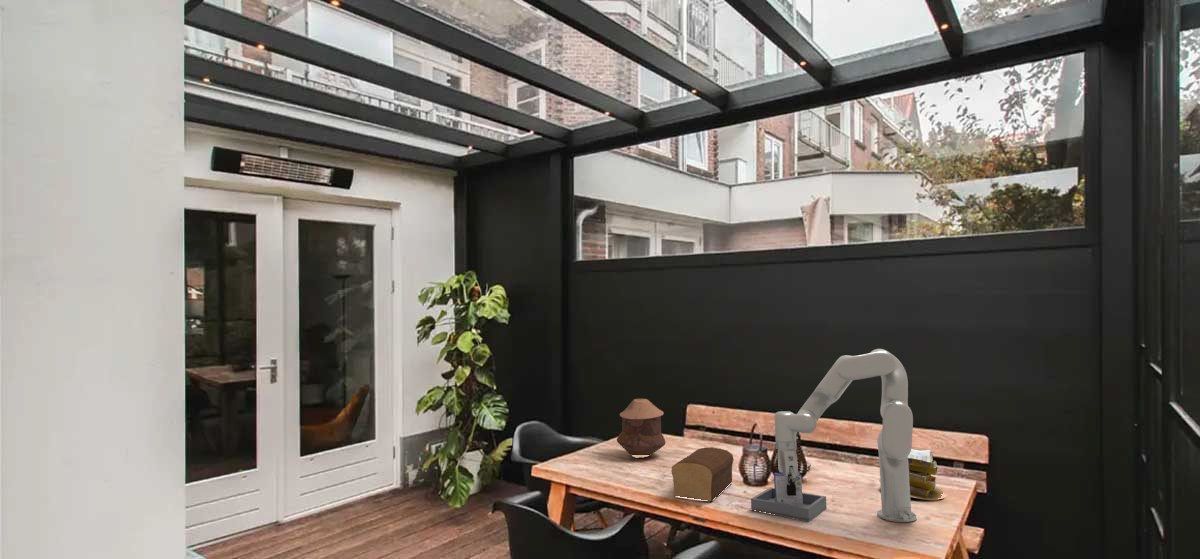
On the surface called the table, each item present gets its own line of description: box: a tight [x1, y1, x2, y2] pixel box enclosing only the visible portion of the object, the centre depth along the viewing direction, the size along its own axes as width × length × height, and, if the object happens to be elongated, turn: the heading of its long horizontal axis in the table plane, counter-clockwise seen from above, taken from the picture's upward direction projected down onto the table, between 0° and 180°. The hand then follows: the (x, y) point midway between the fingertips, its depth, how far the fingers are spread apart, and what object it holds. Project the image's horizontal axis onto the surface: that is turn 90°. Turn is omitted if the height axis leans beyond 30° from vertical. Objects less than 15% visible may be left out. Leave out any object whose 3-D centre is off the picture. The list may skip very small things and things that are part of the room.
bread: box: [671, 446, 734, 501], centre depth 260 cm, size 18×30×16 cm, turn 152°
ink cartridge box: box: [773, 472, 803, 507], centre depth 233 cm, size 10×6×14 cm, turn 83°
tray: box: [750, 487, 827, 523], centre depth 232 cm, size 22×18×4 cm
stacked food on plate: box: [878, 448, 945, 501], centre depth 250 cm, size 25×25×17 cm
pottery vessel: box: [616, 398, 666, 456], centre depth 325 cm, size 26×26×30 cm
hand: (788, 492), depth 233 cm, fingers open, 7 cm apart
